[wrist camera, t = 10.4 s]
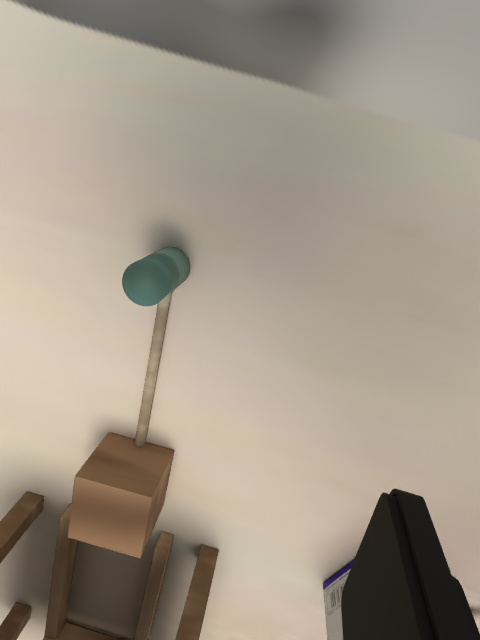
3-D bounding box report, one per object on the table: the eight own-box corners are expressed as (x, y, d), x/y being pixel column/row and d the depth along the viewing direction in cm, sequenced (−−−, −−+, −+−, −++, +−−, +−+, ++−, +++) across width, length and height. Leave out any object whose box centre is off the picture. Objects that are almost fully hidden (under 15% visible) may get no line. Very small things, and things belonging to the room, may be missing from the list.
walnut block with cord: (163, 504, 33) (140, 558, 28) (100, 487, 33) (67, 537, 29) (213, 257, 27) (195, 273, 22) (136, 237, 27) (101, 249, 22)
